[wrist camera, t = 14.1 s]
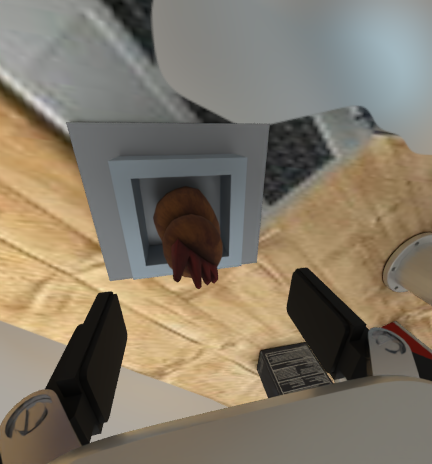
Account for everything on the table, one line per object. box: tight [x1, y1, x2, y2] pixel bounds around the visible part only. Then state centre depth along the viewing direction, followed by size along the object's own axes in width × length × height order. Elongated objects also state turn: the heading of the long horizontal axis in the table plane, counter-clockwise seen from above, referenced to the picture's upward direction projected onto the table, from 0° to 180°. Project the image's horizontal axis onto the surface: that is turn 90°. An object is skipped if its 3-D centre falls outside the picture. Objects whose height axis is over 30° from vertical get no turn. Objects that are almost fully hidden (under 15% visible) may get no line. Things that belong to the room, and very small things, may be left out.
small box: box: [257, 342, 333, 398], centre depth 38 cm, size 11×6×10 cm, turn 88°
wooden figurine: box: [153, 186, 223, 289], centre depth 18 cm, size 7×6×15 cm
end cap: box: [66, 122, 270, 281], centre depth 23 cm, size 20×18×6 cm
